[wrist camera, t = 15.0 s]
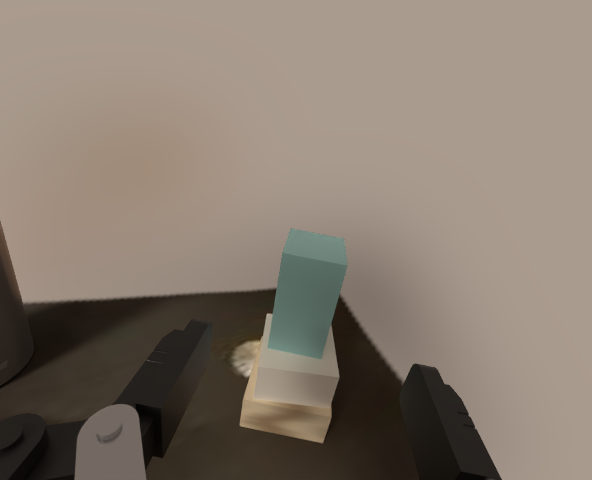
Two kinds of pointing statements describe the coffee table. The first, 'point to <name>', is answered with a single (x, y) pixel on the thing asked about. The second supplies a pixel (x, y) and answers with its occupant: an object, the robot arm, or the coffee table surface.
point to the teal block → (307, 292)
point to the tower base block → (283, 414)
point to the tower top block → (296, 374)
